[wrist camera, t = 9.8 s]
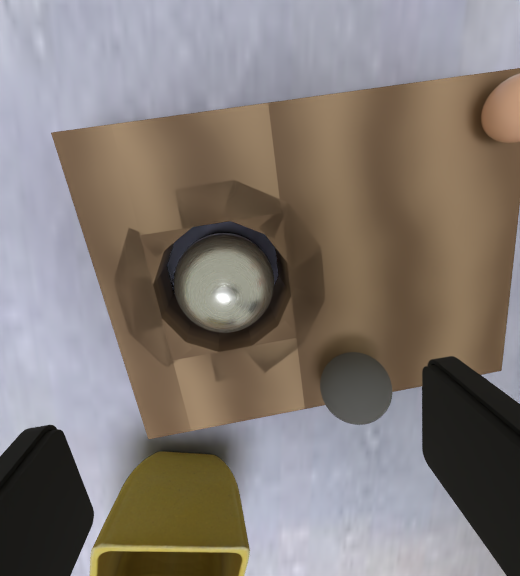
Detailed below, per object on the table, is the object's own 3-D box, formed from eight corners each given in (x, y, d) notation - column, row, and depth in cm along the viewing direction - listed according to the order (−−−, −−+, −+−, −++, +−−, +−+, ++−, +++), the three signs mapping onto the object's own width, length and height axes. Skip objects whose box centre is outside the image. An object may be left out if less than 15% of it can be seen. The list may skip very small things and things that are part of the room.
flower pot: (133, 427, 26) (89, 549, 17) (242, 435, 27) (251, 550, 18) (127, 510, 28) (85, 653, 20) (227, 513, 29) (228, 648, 21)
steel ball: (262, 221, 22) (272, 232, 16) (273, 304, 24) (287, 340, 18) (173, 235, 22) (151, 251, 16) (191, 317, 23) (178, 359, 18)
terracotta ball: (524, 78, 16) (587, 56, 14) (517, 142, 17) (575, 133, 15) (468, 86, 16) (520, 65, 13) (465, 150, 17) (512, 143, 14)
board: (470, 90, 21) (534, 66, 16) (456, 340, 26) (501, 370, 22) (89, 144, 19) (50, 132, 15) (161, 395, 25) (148, 439, 21)
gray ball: (372, 335, 20) (406, 370, 16) (374, 389, 21) (406, 432, 18) (309, 346, 20) (329, 384, 16) (315, 400, 21) (335, 447, 17)
